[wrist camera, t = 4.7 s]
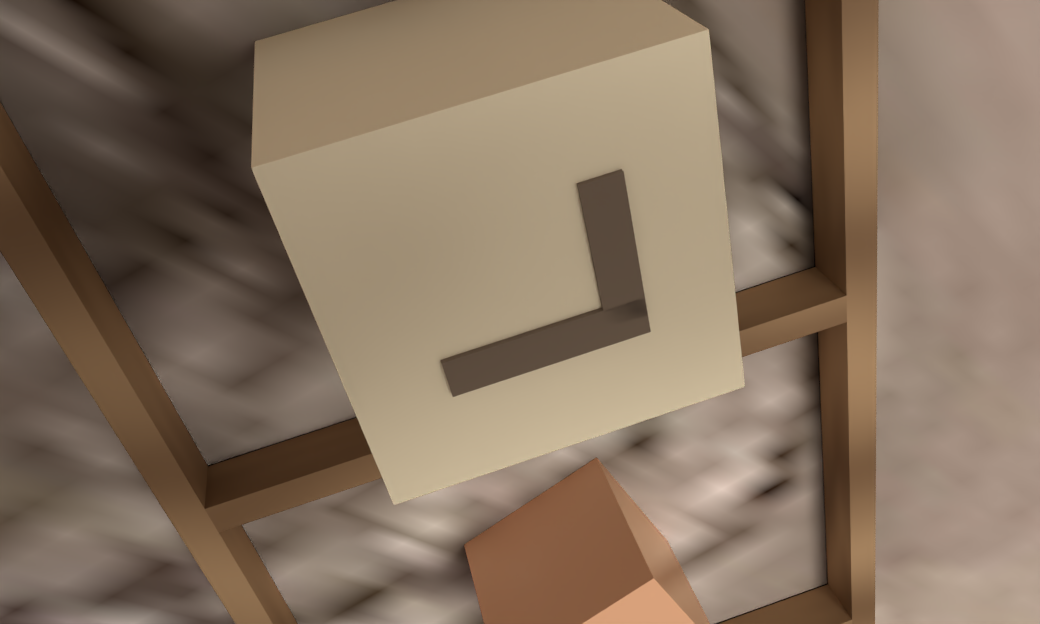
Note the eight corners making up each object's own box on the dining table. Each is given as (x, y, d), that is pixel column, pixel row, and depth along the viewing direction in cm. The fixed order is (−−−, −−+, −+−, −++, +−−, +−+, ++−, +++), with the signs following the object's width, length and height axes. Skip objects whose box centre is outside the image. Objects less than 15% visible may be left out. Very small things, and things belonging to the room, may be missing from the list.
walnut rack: (853, 784, 38) (873, 819, 37) (453, 937, 37) (460, 978, 35) (833, -341, 16) (880, -348, 15) (-156, -72, 15) (-194, -57, 14)
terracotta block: (666, 539, 28) (730, 662, 24) (544, 616, 28) (587, 749, 24) (595, 455, 25) (653, 578, 21) (463, 542, 26) (497, 676, 22)
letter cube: (628, 227, 22) (752, 388, 16) (360, 312, 21) (394, 508, 16) (579, -55, 18) (719, 29, 12) (255, 40, 17) (251, 171, 12)
